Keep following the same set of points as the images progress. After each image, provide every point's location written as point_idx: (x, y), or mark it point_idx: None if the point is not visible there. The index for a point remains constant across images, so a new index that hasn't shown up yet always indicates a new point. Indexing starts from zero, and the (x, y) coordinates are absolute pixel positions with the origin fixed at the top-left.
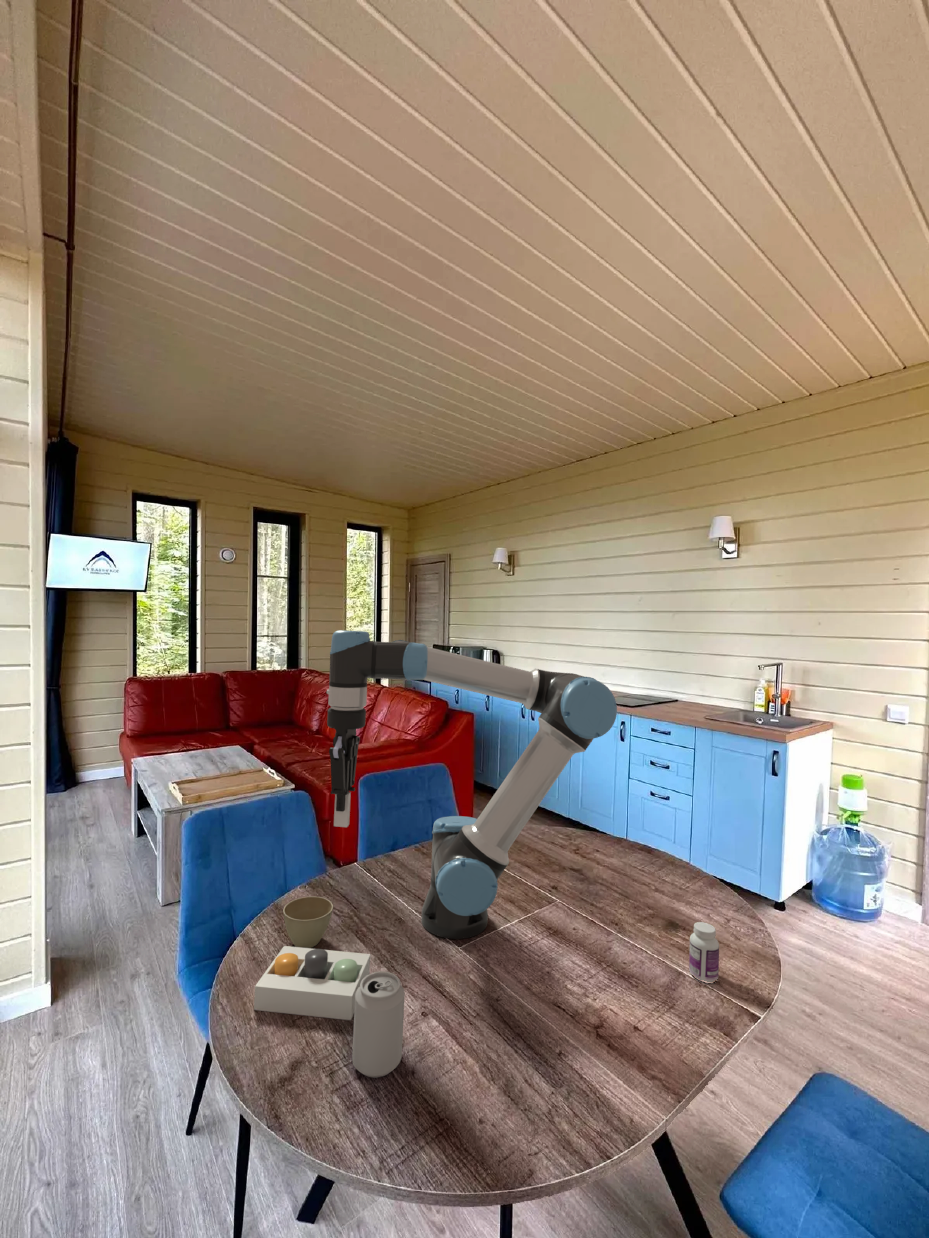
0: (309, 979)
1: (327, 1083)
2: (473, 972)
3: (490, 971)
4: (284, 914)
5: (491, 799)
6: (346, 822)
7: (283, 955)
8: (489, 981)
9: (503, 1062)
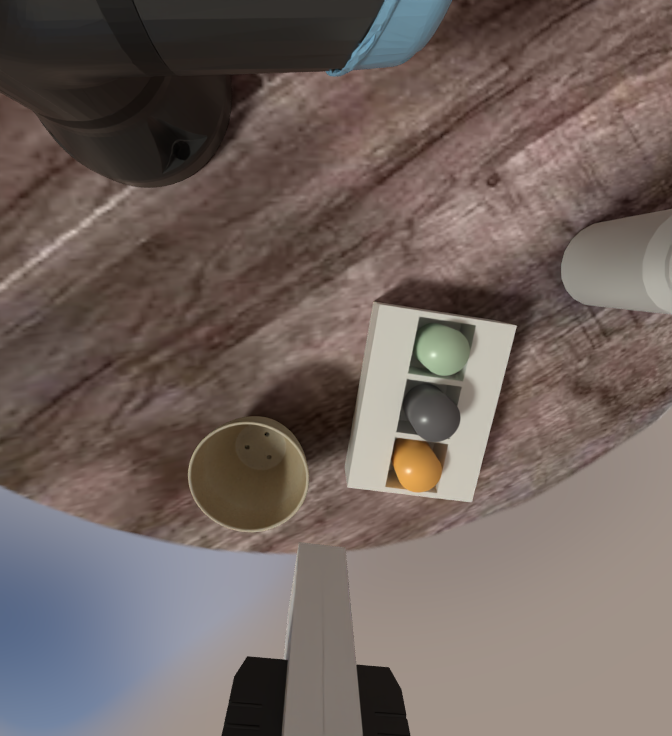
0: (460, 414)
1: (623, 336)
2: None
3: None
4: (282, 523)
5: None
6: (346, 572)
7: (405, 481)
8: None
9: (634, 21)
